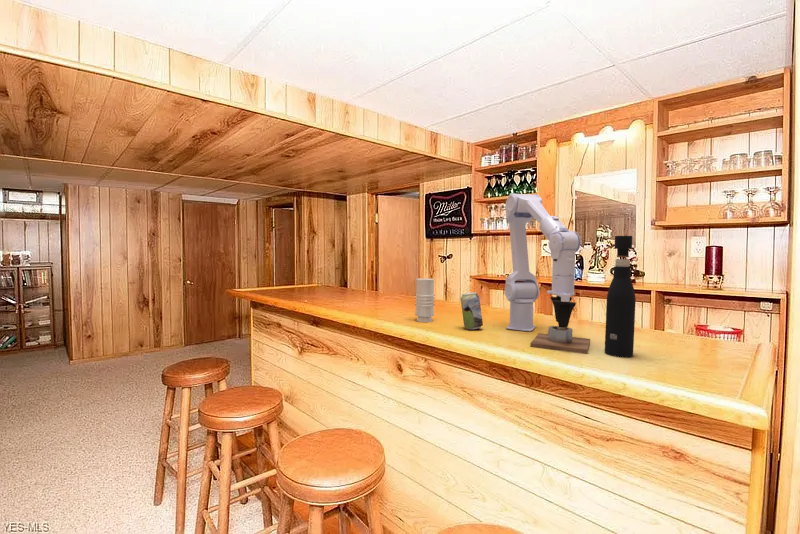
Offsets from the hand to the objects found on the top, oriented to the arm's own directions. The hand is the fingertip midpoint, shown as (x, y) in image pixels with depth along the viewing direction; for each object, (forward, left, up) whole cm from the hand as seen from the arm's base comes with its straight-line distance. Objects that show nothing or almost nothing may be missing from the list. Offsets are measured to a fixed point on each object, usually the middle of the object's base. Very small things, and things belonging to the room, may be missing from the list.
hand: (561, 324), depth 110 cm
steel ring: (0, 0, -5) cm, 5 cm away
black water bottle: (+3, +14, -6) cm, 16 cm away
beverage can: (-7, -28, -6) cm, 29 cm away
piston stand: (0, 0, -6) cm, 6 cm away
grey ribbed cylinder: (-12, -47, -6) cm, 49 cm away
